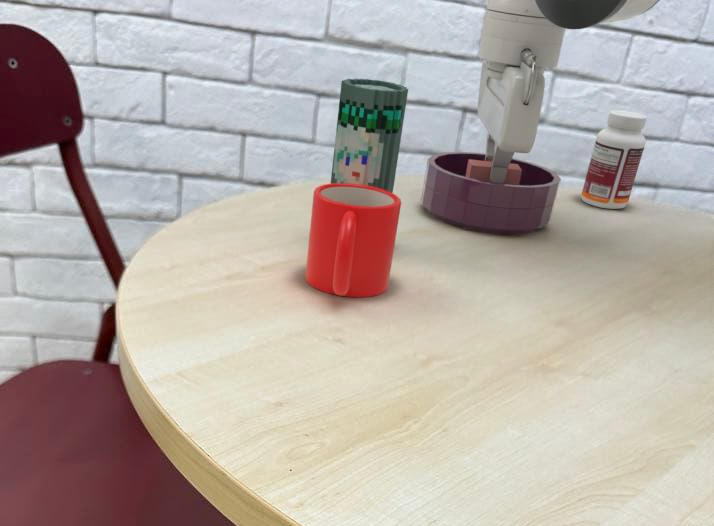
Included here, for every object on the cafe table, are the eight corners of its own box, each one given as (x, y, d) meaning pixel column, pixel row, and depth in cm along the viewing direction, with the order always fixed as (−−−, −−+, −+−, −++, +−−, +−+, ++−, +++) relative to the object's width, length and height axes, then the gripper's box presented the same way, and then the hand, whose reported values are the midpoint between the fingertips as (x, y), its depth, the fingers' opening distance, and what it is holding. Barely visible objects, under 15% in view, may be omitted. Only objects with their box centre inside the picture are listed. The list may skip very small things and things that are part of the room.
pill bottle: (617, 199, 117) (644, 111, 110) (632, 212, 112) (661, 121, 105) (574, 195, 116) (598, 106, 110) (587, 207, 111) (613, 116, 105)
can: (317, 244, 88) (334, 83, 79) (337, 229, 93) (355, 76, 84) (372, 256, 87) (395, 94, 78) (390, 241, 91) (414, 86, 82)
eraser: (512, 190, 104) (517, 164, 102) (516, 196, 101) (522, 169, 100) (463, 185, 104) (468, 159, 102) (466, 191, 101) (471, 164, 99)
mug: (295, 307, 74) (304, 214, 69) (309, 262, 83) (318, 178, 79) (385, 318, 74) (400, 226, 69) (388, 272, 83) (402, 189, 79)
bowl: (535, 205, 110) (546, 160, 106) (559, 243, 97) (573, 193, 94) (415, 192, 109) (423, 146, 106) (425, 228, 97) (434, 177, 93)
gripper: (568, 60, 85) (534, 202, 93) (532, 37, 101) (506, 160, 110) (506, 53, 85) (478, 197, 93) (480, 31, 101) (458, 155, 110)
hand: (493, 176), depth 101 cm, fingers closed on eraser, 3 cm apart
